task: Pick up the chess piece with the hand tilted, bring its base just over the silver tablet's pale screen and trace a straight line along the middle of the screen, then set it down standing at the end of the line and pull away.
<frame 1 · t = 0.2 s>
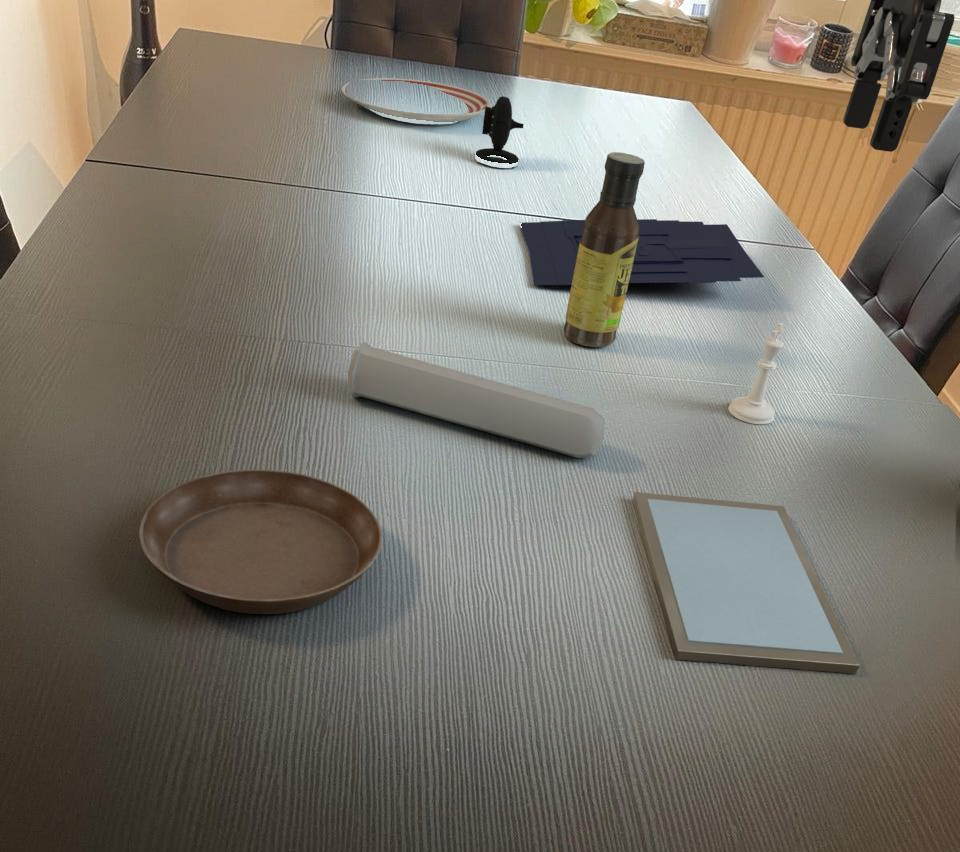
hand: (867, 137, 90), 28 cm above the table, tool pointing down, fingers open, 8 cm apart
chess piece: (750, 415, 109), on the table
papers: (631, 268, 140), on the table
webcam: (495, 163, 171), on the table
plant saucer: (263, 562, 78), on the table
tube: (474, 427, 99), on the table
sauce bottle: (588, 340, 119), on the table
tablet: (733, 579, 84), on the table
dinner plate: (415, 114, 190), on the table
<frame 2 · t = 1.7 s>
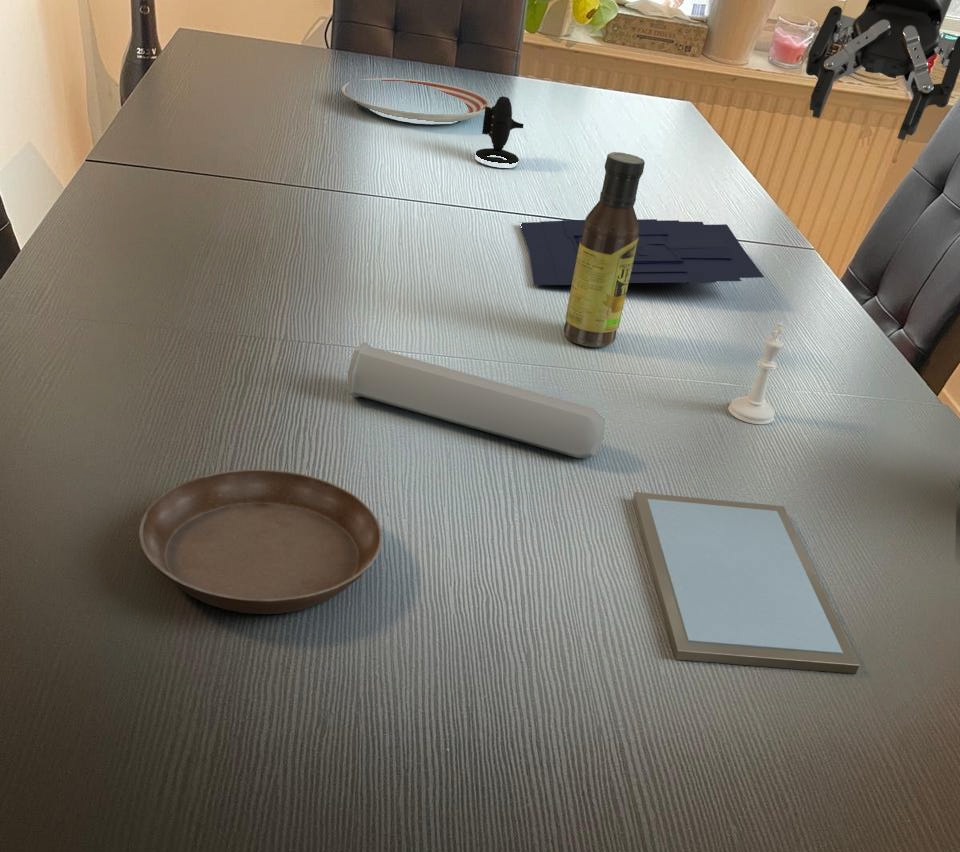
hand: (859, 123, 100), 27 cm above the table, tool tilted 45°, fingers open, 8 cm apart
nothing on the table moved.
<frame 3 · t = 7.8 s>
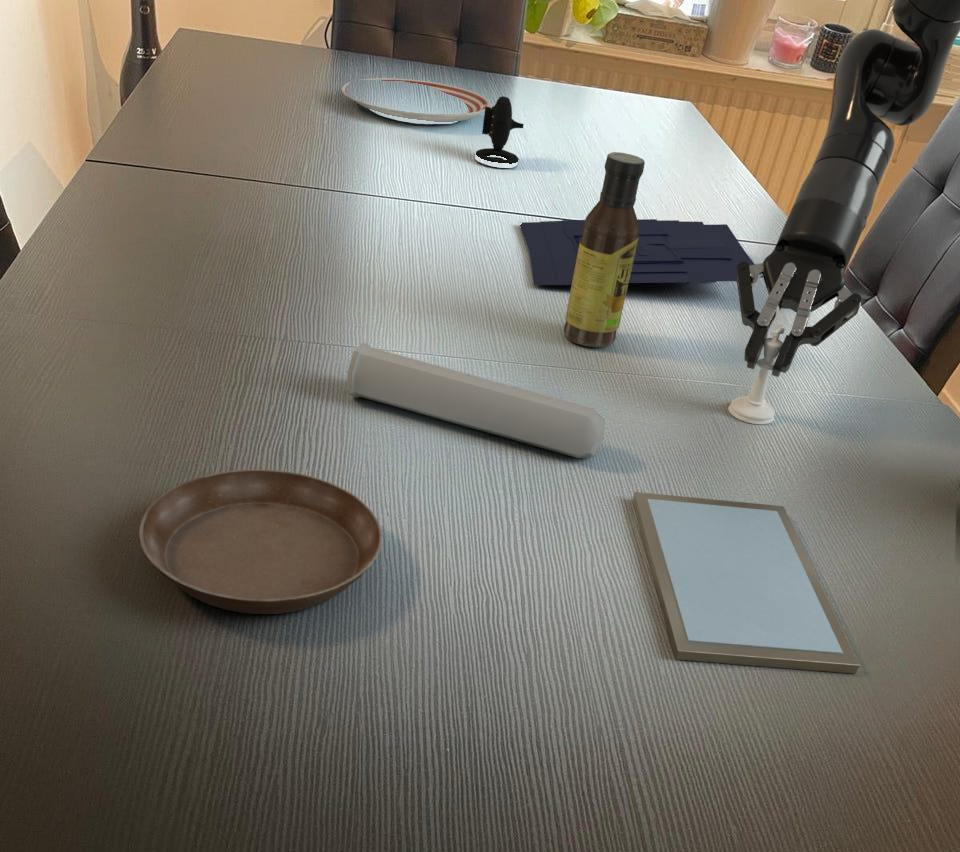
hand: (763, 368, 104), 6 cm above the table, tool tilted 45°, fingers closed on chess piece
chess piece: (750, 415, 109), on the table, touching gripper
everything else where it was.
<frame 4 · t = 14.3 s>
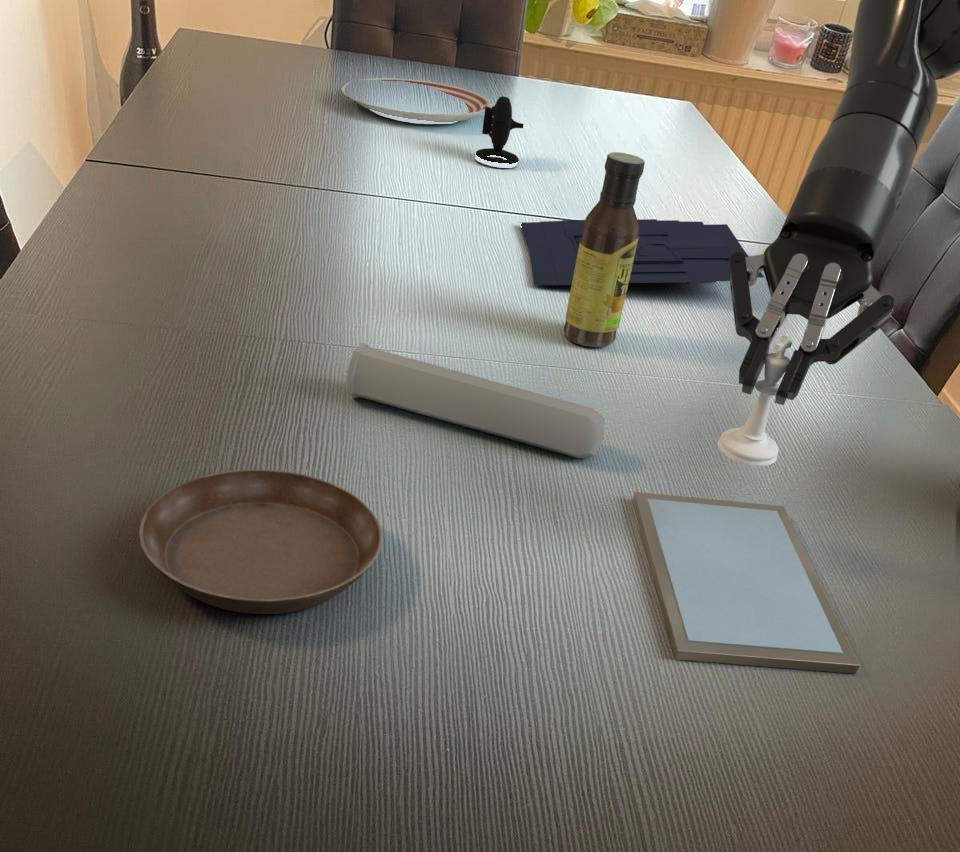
hand: (763, 394, 78), 14 cm above the table, tool tilted 45°, fingers closed on chess piece
chess piece: (746, 452, 84), point 8 cm above the table, touching gripper
everything else where it was.
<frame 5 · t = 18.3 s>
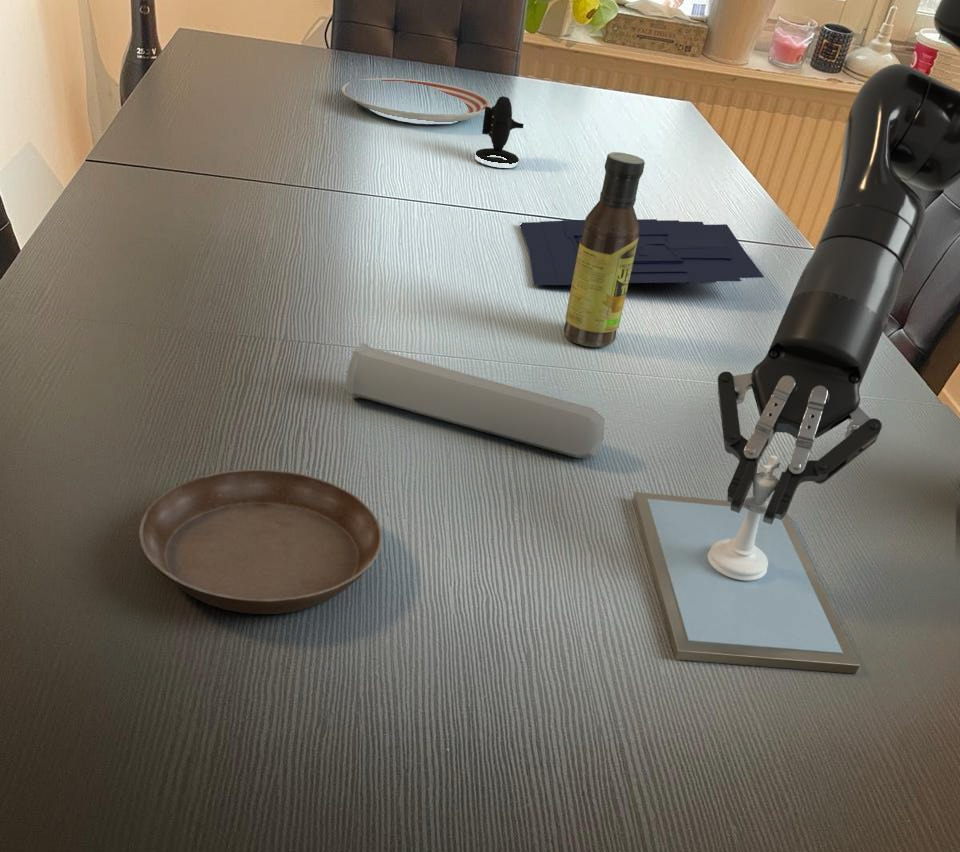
hand: (751, 514, 79), 7 cm above the table, tool tilted 45°, fingers closed on chess piece
chess piece: (736, 564, 84), point 1 cm above the table, touching gripper
everything else where it was.
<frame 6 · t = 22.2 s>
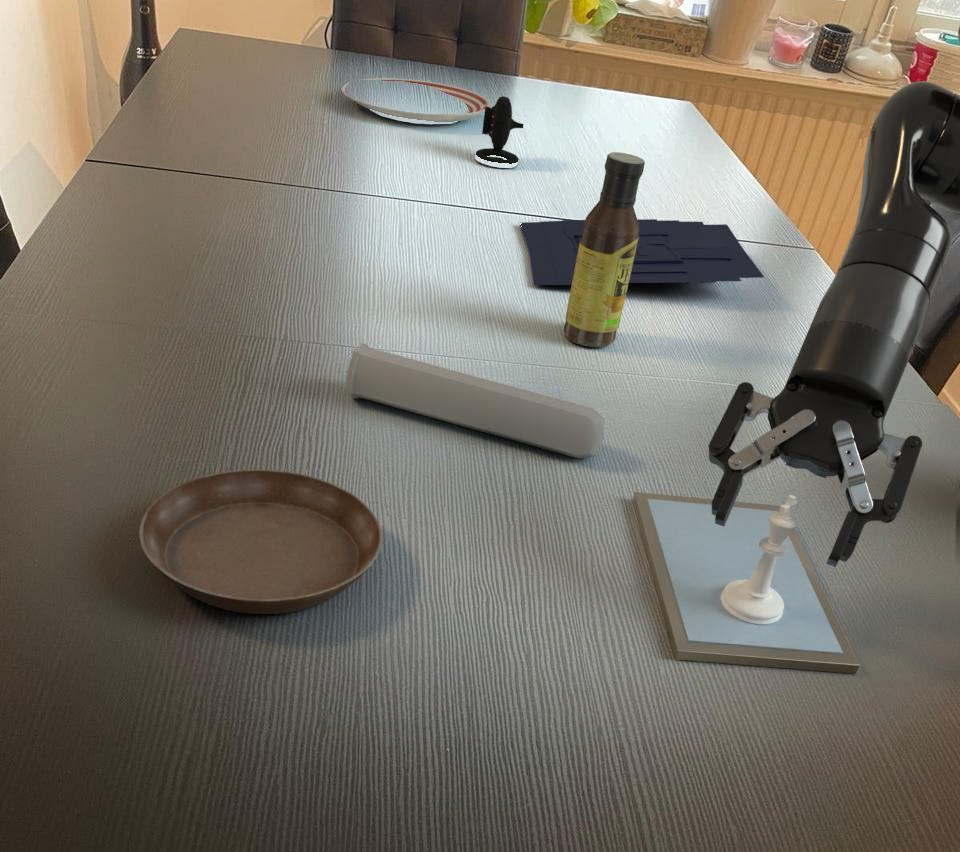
hand: (775, 542, 75), 8 cm above the table, tool tilted 45°, fingers open, 8 cm apart
chess piece: (750, 607, 80), point 1 cm above the table, touching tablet
everything else where it was.
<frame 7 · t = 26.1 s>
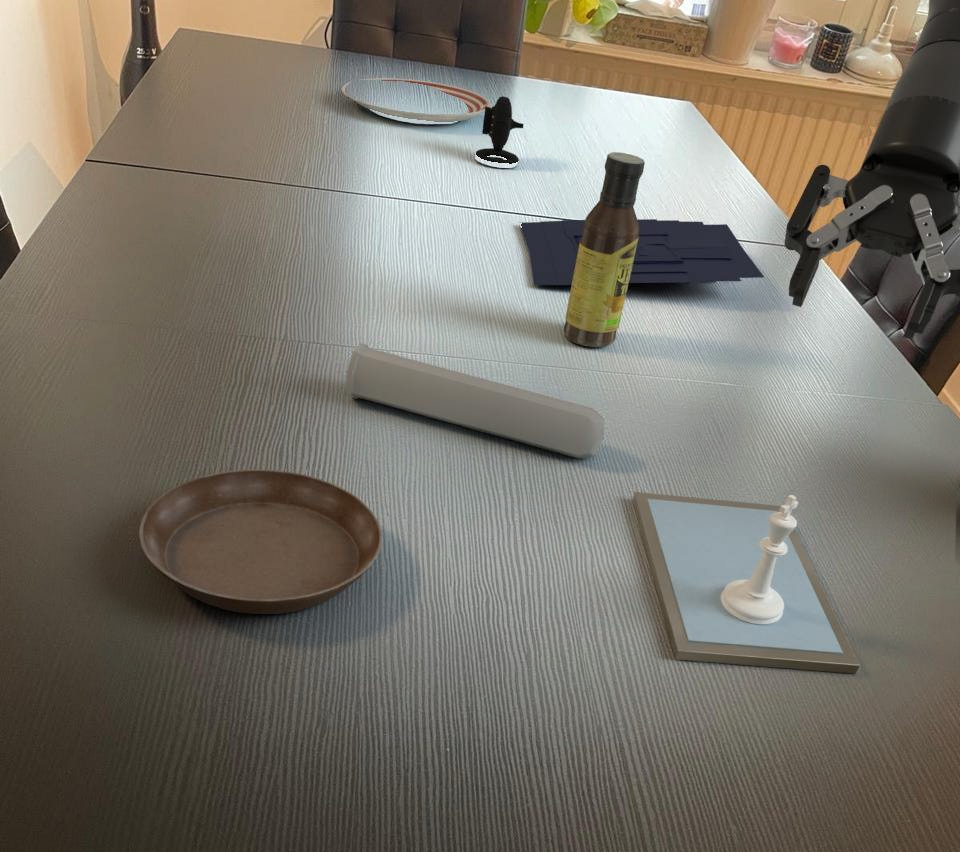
hand: (852, 317, 77), 20 cm above the table, tool tilted 45°, fingers open, 8 cm apart
nothing on the table moved.
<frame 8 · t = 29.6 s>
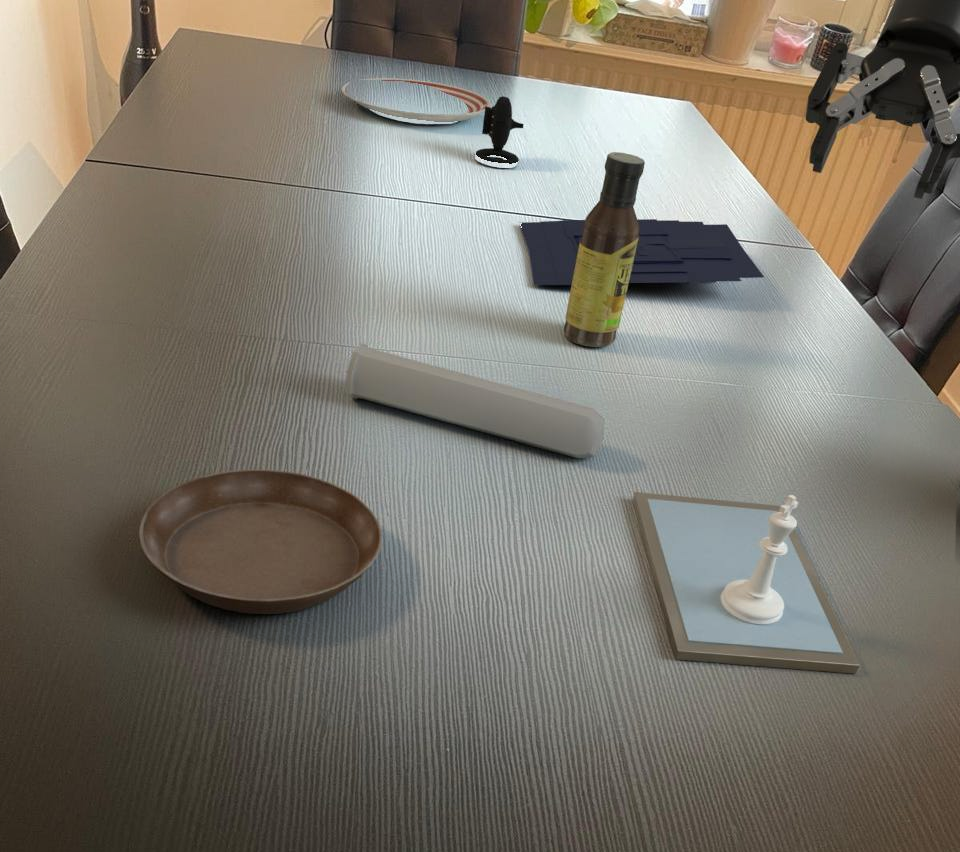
hand: (867, 179, 84), 27 cm above the table, tool tilted 45°, fingers open, 8 cm apart
nothing on the table moved.
at the end: chess piece inside the target area on the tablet (1.0 cm from its centre), point 0.8 cm above the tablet's base; chess piece tilted 0°; the gripper is holding nothing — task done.
